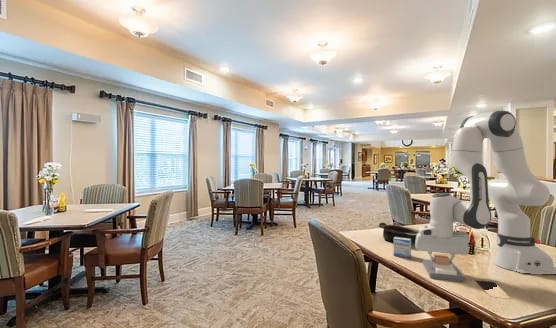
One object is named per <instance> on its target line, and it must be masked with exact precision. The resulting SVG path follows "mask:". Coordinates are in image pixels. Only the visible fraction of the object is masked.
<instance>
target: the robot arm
mask: <svg viewBox="0 0 556 328" xmlns="http://www.w3.org/2000/svg"><path fill="white" fill-rule="evenodd" d="M485 139H489V141H490V147H491V148H490V149H491V154H492V160H493V161H492V162H493V166H494V168H495V170H497V171H498V172H499V173H501V174H502V175H503V177H504V178H494V179H488V172H487V168H486V167H485V166H484V162H483V158H482V157H483V142H484V140H485ZM450 156H451V157H450V159H451V161H450V162H451V165H452V167H453V168H454V169H455V170H456V171H457V172H459V173H461V174H462V175H464V176H465V177H466V178H467V180H468V181H469V194H470V195H469V196H470V198H469V199H470V201H466V200H462V199H459V198H457V197H455V196H453V194H451V193H449V192H438V193H434V194H433V195H432V196H431V198H430V202H429V214H430V219H429V224H427V225H426V224H425V225H424V226H419V227H418V229H417V230H418V231H419V233H418V234H417V235H416V240H415V242H414V247H415V249H416V250H417V251H419V252H427V254H428V256H429V257H430V260H431V262H435V258H434V257H433V256H432V255H433V253H438V254H450V257H449V264H452V262H453V260H454V258H455V256H456V255H462V256H463V255H464V256H467V255H468V254H469V253H470V247H469V242H470V236H469V234H468V233H466V232H465V231H464V232H463V231H454V222H456V223H459V224H462V225H465V226H467V227H469V228H471V229H474V230H482V229H483V228H484V229H485V228H486V227H487V226H488V225H489V224H490V223H491V221H492V211H491V207H490V203H489V200H490V201H491V202H492V204H493V206H494V208H495V210H496V214H497V222H498V223H497V232H496V234H497V235H496V246H497V248H496V254H495V257H494V260H493V264H494V265H496V266H498V267H500V268H503V269H506V270H510V271H514V272H516V271H517V273H519V272H520V273H519V274H523V273H531V274H530V275H542V274H556V266H555V263H554V260H553V258H552V257H551V255H549V254H548V253H547V252H545V251H544V250H542V249H541V248H539V247H538V246H537V245H541V239H540V238H539V239H538V238H535V237H533V236H531V219H530V217H529V216H528V215H527V214H525V212H523V210H522V209H521V206H524V207H525V206H526V207H538V206H540V207H541V206H543V205H546V204H547V203H548V201H549V199H550V197H551V191H550V189H549V187H548V186H547V185H546V184H545V183H543V182H541V181H540V180H539V179H538V178H537V177H536V176H535V175H534V173H533V172H532V171H531V170H530V167H529V166H528V162H527V160H526V155H525V149H524V143H523V139H522V136H521V134H520V132H519V129H518V127H517V121H516V118H515V116H514V115H513V113H512V112H510V111H509V110H497V111H496V110H495V111H487V112H482V113H480V114H477V115H476V114H475V115H471V116H468V117H466V118H464V119H463V120H462V122H461V123H460V126H459V129H457V130H456V132H455V135H454V137H453V141H452V147H451V154H450Z"/></svg>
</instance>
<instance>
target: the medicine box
mask: <svg viewBox="0 0 556 328" xmlns="http://www.w3.org/2000/svg"><path fill="white" fill-rule="evenodd" d="M392 253H393V254H392V255H393V256H394V257H399V258H400V257H402V258H406V259H407V258H408V259H411V256H412V243H411V239H408V238H400V237H394V240H393V251H392Z"/></svg>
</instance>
